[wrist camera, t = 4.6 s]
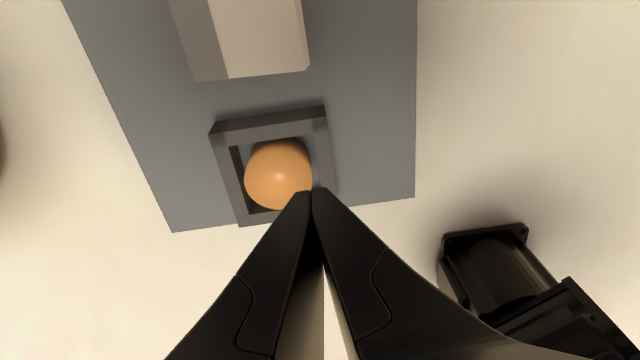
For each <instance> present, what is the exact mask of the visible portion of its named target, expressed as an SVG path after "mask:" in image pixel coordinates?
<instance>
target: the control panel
mask: <svg viewBox="0 0 640 360" xmlns="http://www.w3.org/2000/svg"><path fill="white" fill-rule="evenodd" d="M61 1H62V4H63V6H64V8H65V10H66V12H67V14H68V16H69V18H70V20H71V22H72V24H73V27H74V29H75V31H76V33H77V35H78V37H79V39H80V41H81V43H82V45H83V48H84V50H85V52H86V54H87V56H88V58H89V60H90V62H91V64H92V66H93V68H94V71H95V73H96V75H97V77H98V79H99V81H100V83H101V85H102V87H103V89H104V92H105V94H106V96H107V98H108V100H109V102H110V104H111V106H112V108H113V110H114V113H115V115H116V117H117V119H118V121H119V123H120V125H121V127H122V129H123V131H124V133H125V136H126V138H127V140H128V142H129V144H130V146H131V148H132V150H133V152H134V154H135V157H136V159H137V161H138V163H139V165H140V167H141V169H142V171H143V173H144V175H145V177H146V180H147V182H148V184H149V186H150V188H151V190H152V192H153V194H154V196H155V198H156V201H157V203H158V205H159V207H160V209H161V211H162V213H163V215H164V217H165V219H166V221H167V224H168V226H169V228H170V230H171V232H172V233H175V232H182V231H189V230H195V229H202V228H209V227H216V226H223V225H229V224H236V223H238V226H239V227H246V226H253V225H260V224H267V223H273V222H274V221H275V219H276V218H277V216H278V215H279V214H280V212H281V211H282V210H283V209H282V210H276V209H270V208H266V207H264V206H261V205H260V204H258V203H256V202H255V201H254V200H253V199H252V198H251V197H250V196H249V194H248V193H247V191H246V188H245V185H244V175H245V171H246V167H247V163H248V160H249V156H250V153H251V151H252V149H253V148H254V146H255V145H256V144H257V143H258V142H261V141H268V140H275V139H281V138H288V137H291V138H293V139H295V140H297V141H299V142H300V143H301V144H302V145H303V146H304V147H305V148H306V149H307V151H308V153H309V155H310V158H311V168H312V188H311V190H312V189H315V188H321V187H327V188H328V189H329V190H330V191H331V192H332V193H333V194H334V195H335V196H336V197H337V198H338V199H339V200H340V201H341V202H342V203H343V204H344V205H345V206H347V207H352V206H358V205H365V204H372V203H379V202H386V201H392V200H399V199H406V198H413V197H415V138H416V54H417V0H301V6H302V12H303V19H304V26H305V33H306V39H307V46H308V53H309V60H310V65H309V66H308V67H307V69H306V70H305V71H298V72H289V73H279V74H270V75H260V76H250V77H241V78H231V79H226V80H216V81H207V82H197V83H194V80H193V77H192V74H191V71H190V68H189V65H188V62H187V58H186V55H185V52H184V49H183V46H182V43H181V40H180V37H179V34H178V31H177V28H176V25H175V22H174V19H173V16H172V13H171V10H170V7H169V4H168V1H167V0H61Z"/></svg>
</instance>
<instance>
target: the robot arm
mask: <svg viewBox="0 0 640 360" xmlns="http://www.w3.org/2000/svg"><path fill="white" fill-rule="evenodd" d="M528 232H529V229H528V227H527V226H526V225H525V224H522V223H520V224H513V225H506V226H500V227H493V228H486V229H479V230H472V231H465V232H458V233H451V234H447V235H445V236H444V237H443V239H442V250H441V258H440V259H439V260H438V269H437V283H438V285H439V289H438V288H436V287H435V286H434V285H432V284H431V283H430V282H429V281H427V280H426V279H425V278H423V277H422V276H421V275H419V274H418V273H417V272H416V271H414V270H413V269H412V268H411V267H410V266H409V265H408V264H407V263H405V262H404V261H403V260H402V259H401V258H400V257H399V256H398V255H397V254H396V253H395V252H394V251H393V250H392V249H389V247H388V246H387V245H386V244H385V243H384V242H383V241H382V240H381V239H380V238H379V237H378V236H377V235H376V234H375V233H374V232H373V231H372V230H371V229H369V228H368V227H367V226H366V225H365V224H364V223H363V222H362V221H361V220H360V219H359V218H358V217H357V216H356V215H355V214H354V213H353V212H352V211H351V210H350V209H349V208H348V207H347V206H345V205H344V204H343V203H342V202H341V201H340V200H339V199H338V198H337V197H336V196H335V195H334V194H333V193H332V192H331V191H330V190H329V189H328V188H327V187H321V188H315V189H312V190H311V191H310V190H304V191H298V192H295V193H294V194H293V196H292V197H291V199H290V200H289V201H288V203H287V204H286V205H285V207H284V208H283V210H282V211H281V212H280V214H279V215H278V216H277V218H276V219H275V221H274V222H273V223H272V225H271V226H270V227H269V229H268V230H267V231H266V233H265V234H264V236H263V237H262V238H261V240H260V241H259V242H258V244H257V245H256V247H255V248H254V249H253V251H252V252H251V253H250V255H249V256H248V257H247V259H246V260H245V262H244V263H243V264H242V266H241V267H240V268H239V270H238V271H237V273H236V275H235V276H233V278H232V279H231V281H230V282H229V283H228V285H227V286H226V287H225V289H224V290H223V291H222V293H221V294H220V295H219V296H218V298H217V299H216V300H215V302H214V303H213V304H212V305H211V307H210V308H209V309H208V310H207V311H206V312H205V314H204V315H203V316H202V317H201V318H200V320H199V321H198V322H197V323H196V324H195V325H194V326H193V328H192V329H191V330H190V331H189V332H188V333H187V334H186V335H185V337H184V338H183V339H182V340H181V341H180V342H179V343H178V344H177V346H176V347H175V348H174V349H173V350H172V351H171V352H170V353H169V355H168V356H167V357H166V358H165V359H164V360H324V270H325V274H326V278H327V282H328V286H329V289H330V293H331V296H332V300H333V304H334V307H335V311H336V315H337V318H338V322H339V325H340V329H341V333H342V336H343V340H344V344H345V347H346V351H347V354H348V358H349V360H640V351H639V350H638V348H637V347H636V346H635V345H634V344H633V343H632V342H631V341H630V340H629V339H628V337H627V336H626V335H625V334H624V333H623V332H622V331H621V330H620V329H619V328H618V327H617V325H616V324H615V323H614V322H613V321H612V320H611V319H610V318H609V317H608V316H607V315H606V314H605V313H604V312H603V311H602V310H601V309H600V308H599V306H598V305H597V304H596V303H595V302H594V301H593V300H592V299H591V298H590V297H589V296H588V295H587V294H586V293H585V292H584V291H583V290H582V289H581V288H580V287H579V285H578V284H577V283H576V282H575V281H574V280H573V279H572V278H571V277H570V276H568V277H566V278H565V279H563V280H562V282H561V283H558V282H557V281H556V280H555V279H554V277H553V276H552V275H551V274H550V273H549V272H548V270H547V269H546V268H545V267H544V266H543V265H542V263H541V262H540V261H539V260H538V259H537V258H536V256H535V255H534V254H533V253H532V252H531V251H530V250H529V248H528V247H527V246H526V241H527V236H528ZM449 240H450V241H449ZM323 266H324V268H323Z"/></svg>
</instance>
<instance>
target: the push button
mask: <svg viewBox="0 0 640 360" xmlns="http://www.w3.org/2000/svg"><path fill="white" fill-rule="evenodd" d="M244 185H245V188H246V191H247V193H248V194H249V196H250V197H251V198H252V199H253V200H254V201H255V202H256V203H258V204H260V205H261V206H264V207H266V208H270V209H276V210H282V209H283V208H284V207H285V205H286V204H287V203H288V201H289V200H290V199H291V197H292V196H293V194H294V193H295V192H298V191H304V190H310V191H311V188H312V168H311V158H310V155H309V153H308V151H307V149H306V148H305V147H304V146H303V145H302V144H301V143H300V142H299V141H297V140H295V139H293V138H291V137H288V138H281V139H275V140H268V141H261V142H258V143H257V144H256V145H255V146H254V148H253V149H252V151H251V153H250V156H249V160H248V163H247V167H246V171H245V175H244Z"/></svg>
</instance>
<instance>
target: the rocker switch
mask: <svg viewBox="0 0 640 360" xmlns="http://www.w3.org/2000/svg"><path fill="white" fill-rule="evenodd" d="M167 1H168V4H169V7H170V10H171V13H172V16H173V19H174V22H175V25H176V28H177V31H178V34H179V37H180V40H181V43H182V46H183V49H184V52H185V55H186V58H187V62H188V65H189V68H190V71H191V74H192V77H193V80H194V83H197V82H207V81H216V80H226V79H231V78H241V77H250V76H260V75H270V74H279V73H289V72H298V71H305V70H306V69H307V67H308V66H309V65H310V60H309V53H308V46H307V39H306V33H305V26H304V19H303V12H302V6H301V0H167Z"/></svg>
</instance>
